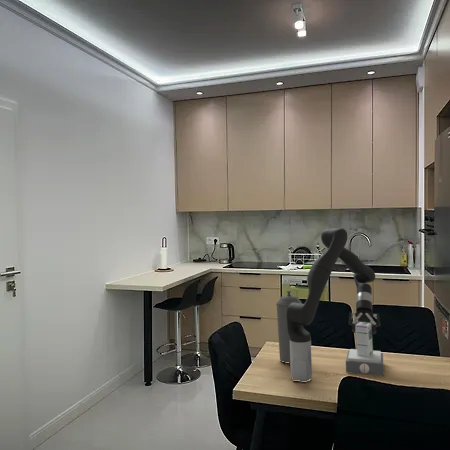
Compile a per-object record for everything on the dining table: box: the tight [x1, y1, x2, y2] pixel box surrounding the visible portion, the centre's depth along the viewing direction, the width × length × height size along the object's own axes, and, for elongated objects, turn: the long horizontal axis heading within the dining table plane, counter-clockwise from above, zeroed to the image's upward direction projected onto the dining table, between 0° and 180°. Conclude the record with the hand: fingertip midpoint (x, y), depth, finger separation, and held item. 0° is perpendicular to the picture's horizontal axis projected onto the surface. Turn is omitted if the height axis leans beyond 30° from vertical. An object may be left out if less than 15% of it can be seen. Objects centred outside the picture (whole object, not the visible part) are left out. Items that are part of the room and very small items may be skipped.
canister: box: [276, 290, 302, 363], centre depth 209 cm, size 13×13×35 cm
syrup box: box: [355, 322, 374, 357], centre depth 196 cm, size 6×6×14 cm
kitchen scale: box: [345, 348, 385, 377], centre depth 195 cm, size 17×16×6 cm
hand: (364, 332), depth 195 cm, fingers open, 8 cm apart
